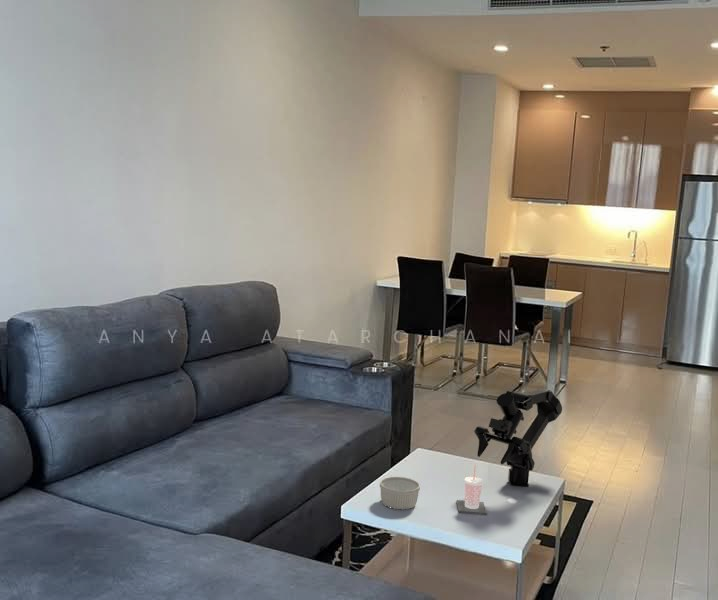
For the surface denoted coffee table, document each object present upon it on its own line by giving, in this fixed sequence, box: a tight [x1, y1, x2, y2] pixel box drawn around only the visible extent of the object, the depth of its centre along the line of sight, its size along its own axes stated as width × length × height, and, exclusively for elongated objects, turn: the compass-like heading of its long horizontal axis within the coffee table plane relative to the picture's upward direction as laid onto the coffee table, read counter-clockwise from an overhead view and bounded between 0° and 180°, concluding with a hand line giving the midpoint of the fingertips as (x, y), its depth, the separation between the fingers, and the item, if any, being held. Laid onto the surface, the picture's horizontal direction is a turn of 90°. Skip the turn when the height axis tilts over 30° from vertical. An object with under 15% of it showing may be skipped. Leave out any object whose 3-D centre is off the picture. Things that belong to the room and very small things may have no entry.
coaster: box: [455, 499, 488, 516], centre depth 242 cm, size 9×9×1 cm
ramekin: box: [379, 476, 421, 510], centre depth 241 cm, size 13×13×7 cm
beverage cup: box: [464, 464, 484, 509], centre depth 241 cm, size 6×6×14 cm
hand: (489, 459), depth 250 cm, fingers open, 9 cm apart
